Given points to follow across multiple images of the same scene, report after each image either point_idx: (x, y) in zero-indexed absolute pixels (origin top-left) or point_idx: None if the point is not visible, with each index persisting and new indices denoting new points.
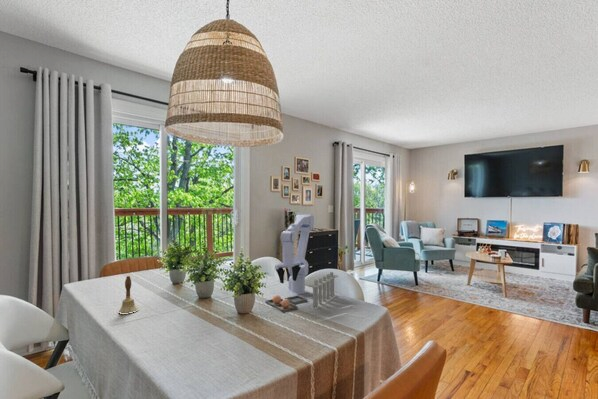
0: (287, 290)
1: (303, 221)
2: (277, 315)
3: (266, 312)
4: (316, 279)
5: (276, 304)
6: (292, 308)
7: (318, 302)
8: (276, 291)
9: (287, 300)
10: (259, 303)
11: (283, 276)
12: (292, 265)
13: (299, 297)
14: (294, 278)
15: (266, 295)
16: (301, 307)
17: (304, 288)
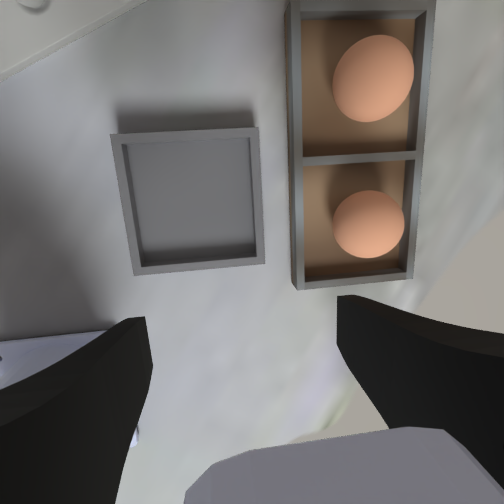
0: (137, 440)
1: None
2: (470, 2)
3: (488, 111)
4: None
5: (399, 158)
6: (343, 2)
7: (34, 34)
8: (208, 462)
9: (382, 45)
10: (424, 297)
11: (404, 324)
12: (369, 479)
13: (139, 239)
14: (139, 348)
15: (306, 415)
16: (227, 49)
17: (5, 373)
